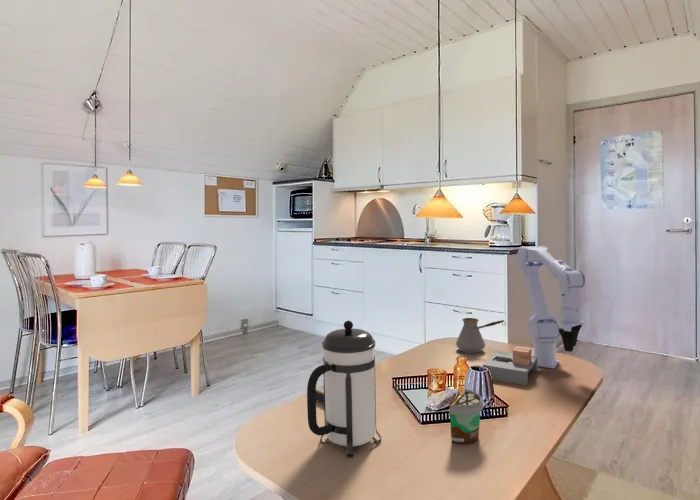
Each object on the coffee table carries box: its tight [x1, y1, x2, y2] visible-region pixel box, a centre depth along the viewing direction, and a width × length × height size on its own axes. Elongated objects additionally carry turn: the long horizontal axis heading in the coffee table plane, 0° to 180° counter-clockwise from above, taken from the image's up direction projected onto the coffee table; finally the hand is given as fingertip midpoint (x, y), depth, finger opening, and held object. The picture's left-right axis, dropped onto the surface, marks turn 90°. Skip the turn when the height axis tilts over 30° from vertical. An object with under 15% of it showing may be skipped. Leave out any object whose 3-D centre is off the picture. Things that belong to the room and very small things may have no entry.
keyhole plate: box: [482, 350, 539, 386], centre depth 155 cm, size 18×14×4 cm
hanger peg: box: [512, 346, 533, 366], centre depth 153 cm, size 5×5×8 cm
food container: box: [448, 388, 484, 446], centre depth 110 cm, size 12×6×10 cm, turn 148°
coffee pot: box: [455, 317, 507, 354], centre depth 179 cm, size 21×12×15 cm, turn 39°
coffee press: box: [306, 320, 382, 458], centre depth 108 cm, size 17×16×30 cm
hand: (570, 348), depth 148 cm, fingers open, 7 cm apart
